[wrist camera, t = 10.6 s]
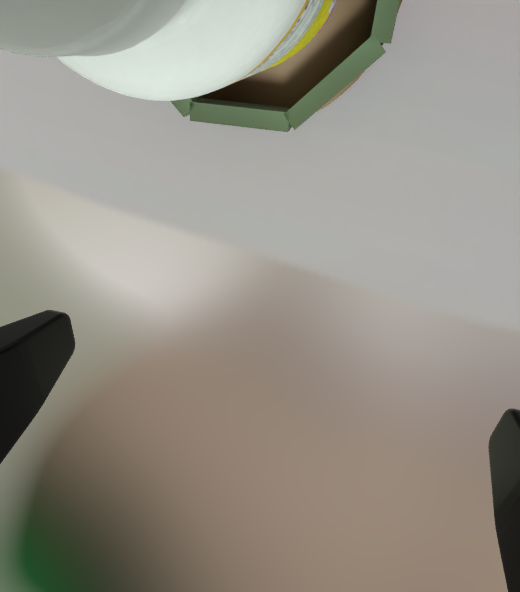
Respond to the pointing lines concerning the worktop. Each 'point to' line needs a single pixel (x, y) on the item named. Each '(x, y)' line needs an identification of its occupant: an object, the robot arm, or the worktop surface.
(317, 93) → the coaster ring
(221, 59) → the supplement bottle
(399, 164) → the worktop surface
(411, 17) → the worktop surface
